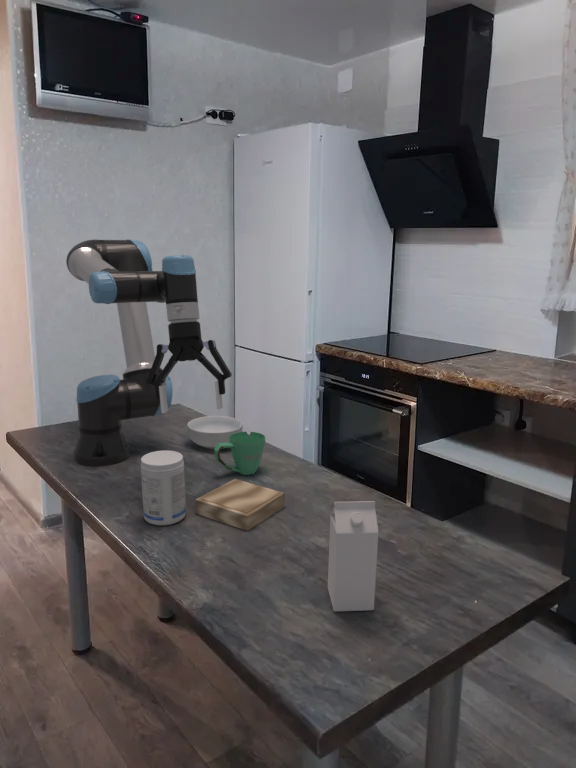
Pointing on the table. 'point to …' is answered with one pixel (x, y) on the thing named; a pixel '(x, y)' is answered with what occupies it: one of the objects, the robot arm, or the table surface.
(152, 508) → the supplement tub
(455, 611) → the table surface
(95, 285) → the robot arm
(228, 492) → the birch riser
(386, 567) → the table surface
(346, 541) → the milk carton
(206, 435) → the cereal bowl
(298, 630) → the table surface
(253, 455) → the mug
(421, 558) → the table surface
